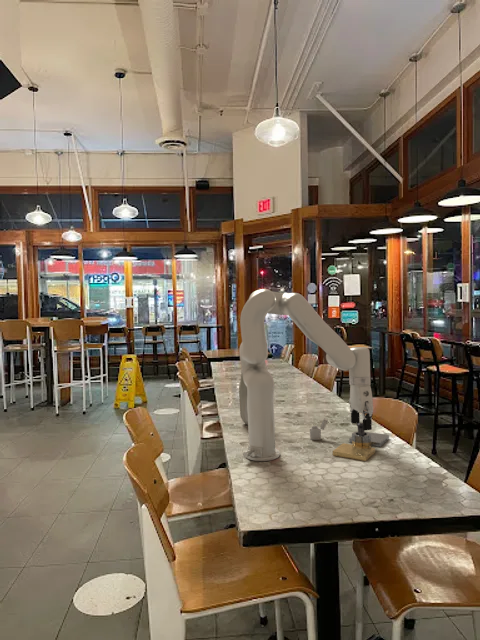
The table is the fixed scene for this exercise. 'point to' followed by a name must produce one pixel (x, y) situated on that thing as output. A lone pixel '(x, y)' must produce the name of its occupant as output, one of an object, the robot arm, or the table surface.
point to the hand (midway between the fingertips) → (361, 426)
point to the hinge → (361, 446)
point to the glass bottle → (243, 400)
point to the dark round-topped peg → (360, 429)
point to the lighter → (317, 431)
